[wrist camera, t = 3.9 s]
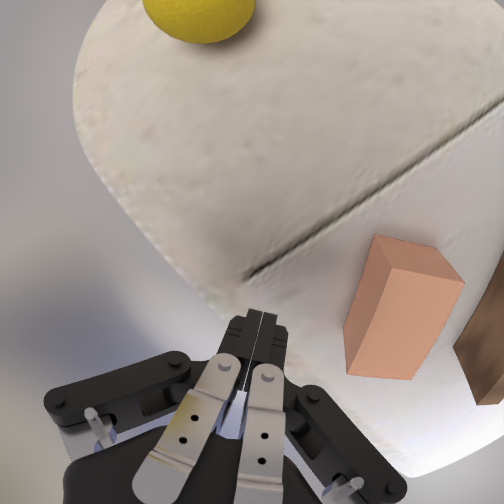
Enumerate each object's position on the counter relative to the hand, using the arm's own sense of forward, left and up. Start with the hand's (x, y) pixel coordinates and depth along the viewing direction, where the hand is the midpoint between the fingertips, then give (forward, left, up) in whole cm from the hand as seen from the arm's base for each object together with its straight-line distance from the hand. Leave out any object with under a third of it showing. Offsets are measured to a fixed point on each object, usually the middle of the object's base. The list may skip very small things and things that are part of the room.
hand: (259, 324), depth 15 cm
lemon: (-16, -6, -6) cm, 19 cm away
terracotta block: (0, +9, -6) cm, 11 cm away
